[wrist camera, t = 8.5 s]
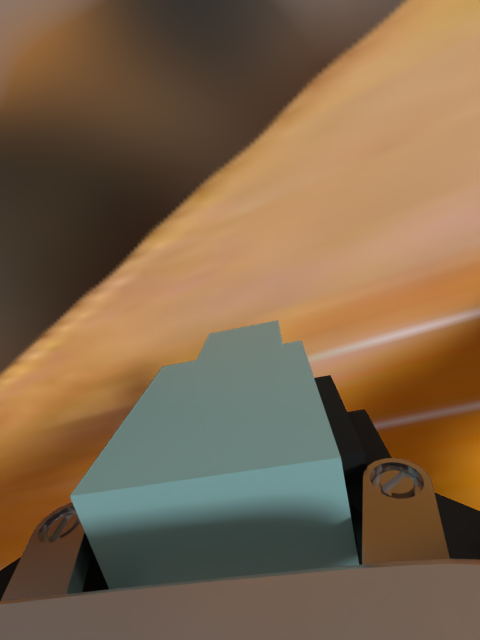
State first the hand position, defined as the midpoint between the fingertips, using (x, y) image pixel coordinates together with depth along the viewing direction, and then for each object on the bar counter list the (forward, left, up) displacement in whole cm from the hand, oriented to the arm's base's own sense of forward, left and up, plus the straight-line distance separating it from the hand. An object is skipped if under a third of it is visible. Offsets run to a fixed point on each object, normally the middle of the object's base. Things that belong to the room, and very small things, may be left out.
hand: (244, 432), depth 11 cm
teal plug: (0, 0, -6) cm, 6 cm away
